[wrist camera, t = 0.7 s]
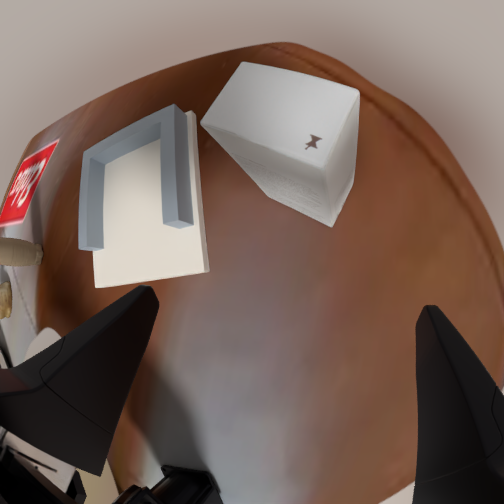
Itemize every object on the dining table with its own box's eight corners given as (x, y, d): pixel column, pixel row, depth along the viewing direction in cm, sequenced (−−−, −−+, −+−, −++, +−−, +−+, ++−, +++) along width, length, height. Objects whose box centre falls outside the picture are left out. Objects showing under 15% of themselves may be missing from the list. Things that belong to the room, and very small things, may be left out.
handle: (34, 276, 33) (-44, 272, 19) (34, 236, 34) (-41, 224, 19) (46, 274, 31) (-40, 270, 17) (46, 231, 32) (-36, 217, 18)
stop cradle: (209, 271, 23) (189, 270, 20) (101, 287, 27) (78, 288, 24) (195, 114, 25) (178, 97, 22) (101, 158, 29) (81, 149, 26)
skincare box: (354, 182, 20) (365, 89, 9) (332, 229, 21) (325, 174, 9) (288, 153, 22) (240, 57, 11) (265, 196, 22) (194, 126, 11)
